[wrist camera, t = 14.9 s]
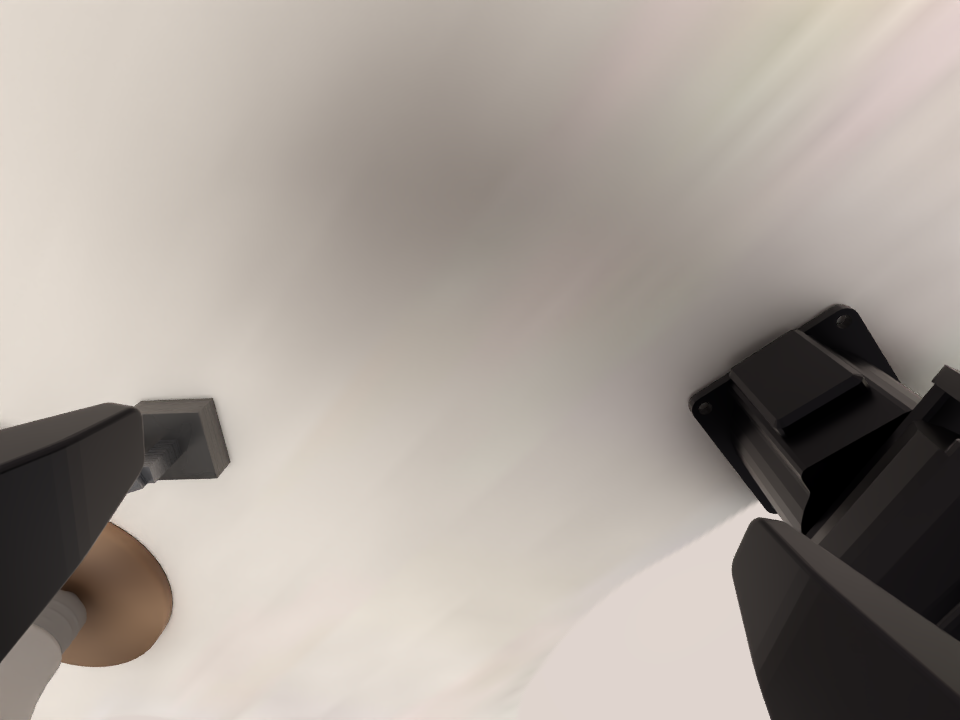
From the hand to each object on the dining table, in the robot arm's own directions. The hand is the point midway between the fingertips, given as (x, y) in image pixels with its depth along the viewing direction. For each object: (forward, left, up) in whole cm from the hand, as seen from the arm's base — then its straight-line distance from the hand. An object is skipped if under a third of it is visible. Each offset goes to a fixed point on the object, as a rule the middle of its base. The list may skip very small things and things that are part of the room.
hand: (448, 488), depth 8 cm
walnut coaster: (0, +25, -13) cm, 28 cm away
